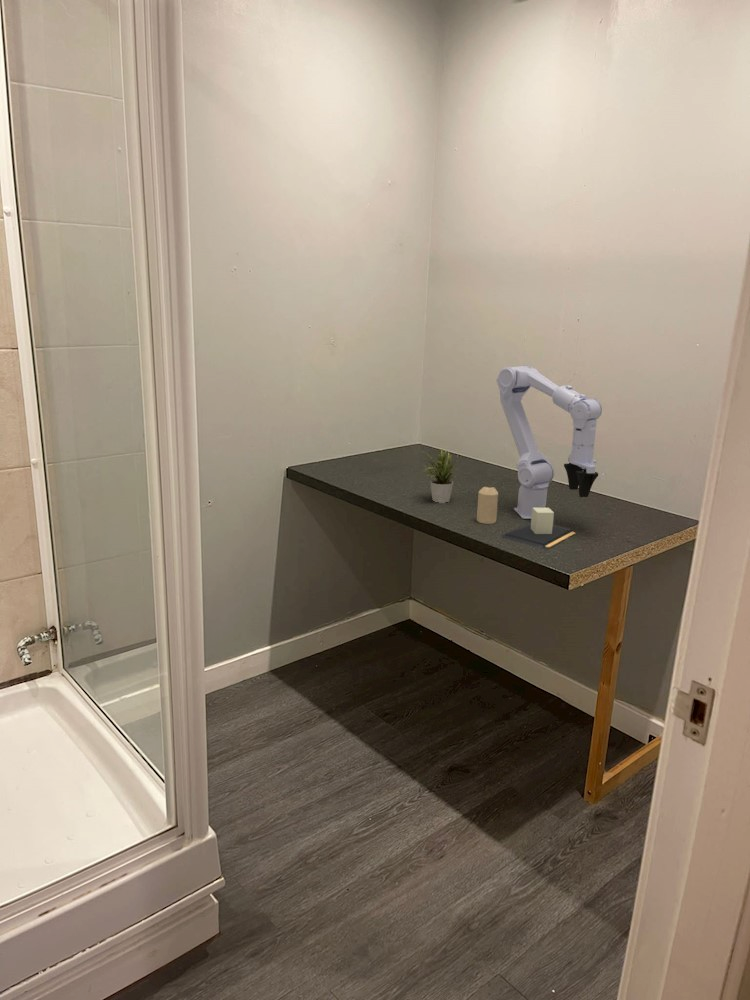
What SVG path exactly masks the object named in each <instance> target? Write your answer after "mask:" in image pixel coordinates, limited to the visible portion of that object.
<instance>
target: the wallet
mask: <svg viewBox="0 0 750 1000" xmlns="http://www.w3.org/2000/svg"><path fill="white" fill-rule="evenodd" d="M576 534H577V532H575V531H574V530H573V529H571V528H568V527H565V526H560V525H556V524H553V527H552V534H535V533H534V532H533V531H532V530H531V521H530V522H528V523H526V524H523V525H521V526H519V527H516V528H515V529H512V530H510V531H508V532H505V534H503V535H501V537H502V538H501V539H504V538H505V539H504V540H507V539H508V541H511V542H514V543H519V544H523V545H525V546H528V547H529V546H530V547H534V548H537V549H540V550H544V551H549V550H551V549H553V548H554V547H557V546H559V545H560V544H562V543H563V542H566V539H569V538H570V537H571V536H574V535H576Z"/></svg>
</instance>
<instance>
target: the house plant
mask: <svg viewBox="0 0 750 1000" xmlns="http://www.w3.org/2000/svg"><path fill="white" fill-rule="evenodd" d="M423 453H425V454H427V455H426V456H427V457H429V458H426V457H424V459H425V461H427V462H429V463H430V464H431V466H432V467H428V466H426V465H424V467H425V469H423V470H422V472H426V471H427V472H429V473H427V475H426V477H428V476H431V477H430V479H431V480H430V481H429V482H430V490H431V492H430V493H431V498H432V500H433V501H435V502H439V503H438V504H446V503H445V502H448V503H449V502H450V499H451V494H452V491H453V485H454V481H453V480H451V479H452V478H455V477H456V478H458V476H457V475H453V472H455V471H456V470H457V468H455V469H453V468H454V466H455V464H456V463H458V462H459V459H457V460H456V461H454V462H453V463H451V462H452V454H450V452H448V450H445V451H444V450H443V449H441V450H440V453H438V454H437V461H435V460H434V459H433V457H432V456H431V454H429V453H428V452H424V451H423ZM430 458H431V459H430ZM433 477H434V479H432V478H433ZM432 500H431V501H432ZM433 501H432V502H433ZM435 502H434V503H435Z"/></svg>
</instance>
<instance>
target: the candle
mask: <svg viewBox="0 0 750 1000" xmlns="http://www.w3.org/2000/svg"><path fill="white" fill-rule="evenodd" d="M477 495H478V497H477V512H476V521H477V522H478V523H480V524H483V525H484V524H485V525H492V524H493V525H494V524H495V523H496V522H497V517H498V516H497V514H498V501H499V492H498V490H497V489H496V487H492V486H490V487H488V486H483V487H482V488H481V489H479V490H478V494H477Z"/></svg>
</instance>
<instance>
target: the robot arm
mask: <svg viewBox="0 0 750 1000" xmlns="http://www.w3.org/2000/svg"><path fill="white" fill-rule="evenodd" d="M496 383H497V385H498V389H499V394H500V396H499V397H500V405H501V406H502V410H503V412H504V415H505V418H506V421H507V423H508V426H509V430H510V432H511V435H512V438H513V441H514V444H515V446H516V449H517V452H518V455H519V459H518V461H517V463H516V464H515V465H516V470H517V478H518V482H519V484H520V487H519V488H518V494H517V495H518V497H517V505H516V506H517V507H514V508H513V510H514V511H515V512H516V513H517V514H518V515H519V516H520V518H521V519H523V520H531V518H532V508H547V497H548V495H547V494H548V487H549V486H550V483H551V482H552V481H553V480H554V476H555V469H554V467H553V465H552V464H551V463H550V461H549V459H548V458H547V456H546V455H545V454H543V453H542V452H541V451H539V449H538V445H537V443H536V440H535V437H534V435H533V431H532V429H531V426H530V424H529V420H528V417H527V415H526V412H525V410H524V407H523V404H522V399H523V397H524V396H525V395H526V393H527V392H528V391H529V390H530V388H531V387H532V388H534V389H536V390H538V391H540V392H541V393H543V394H545V395H547V396H549V397H551V398H552V402H553V403H552V404H554V405H556V406H557V407H559V408H561V409H562V410H563V411H565V412H567V413H568V414H570V418H571V419H572V426H573V428H572V429H573V432H572V441H571V442H572V443H571V453H570V454H568V456H567V457H568V458H567V459H568V460H567V461H568V462H569V463H564V464H563V467H564V469H565V472H566V474H567V482H568V487H569V490H570V491H572V490H573V491H574V490H575V491H576V490H578V495H579V497H580V498H588V497H589V494H590V492H591V490H592V489H591V488H592V486H593V484H594V482H595V481H596V479H598V477H599V472H597V471H596V465H594V464H597V462H598V461H597V460H596V459H594V450H595V440H596V429H597V421H598V419H599V418H600V417H601V415H602V412H603V407H602V404H601V402H600V401H599V400H598V399H597V398H595V397H591V398H587V396H586V394H584V393H579V392H578V391H576V390H574V389H573V388H574V387H573V386H572V385H561V386H559V385H558V384H555V383H554V382H553V381H551V379H548V378H547V377H546V376H544V375H543V374H542V373H540V372H539V371H538V369H536V368H535V367H532V366H531V365H520V366H519V365H518V366H505V367H503V368H501V369H500V371H499V373H498V376H497V378H496Z"/></svg>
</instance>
